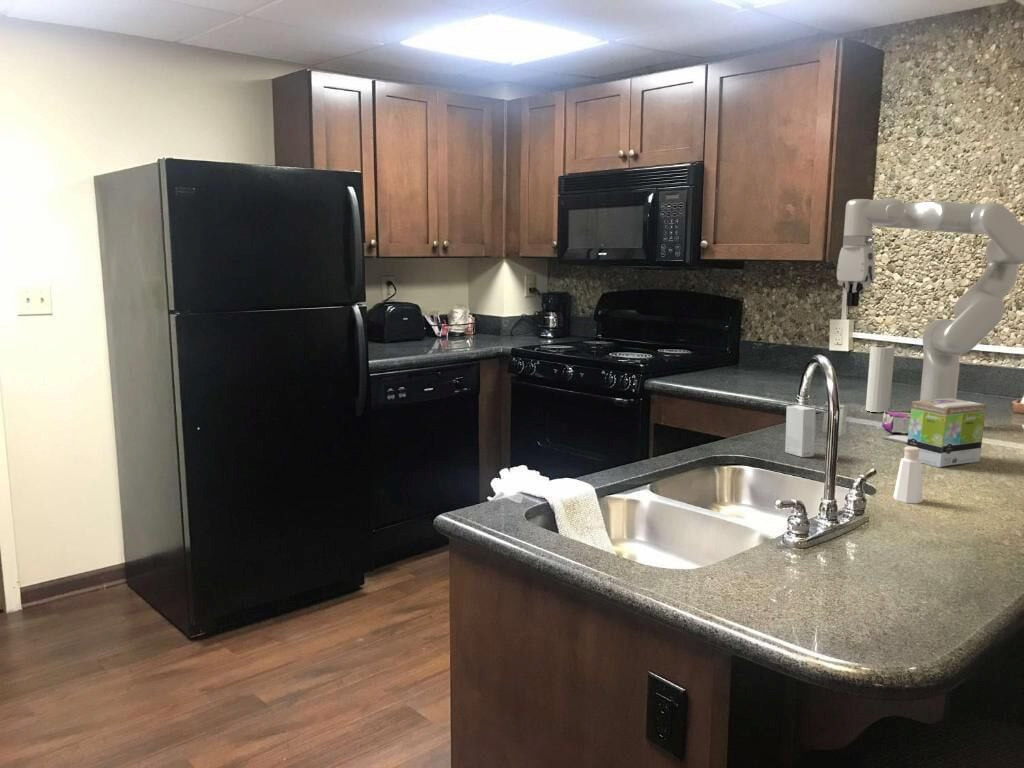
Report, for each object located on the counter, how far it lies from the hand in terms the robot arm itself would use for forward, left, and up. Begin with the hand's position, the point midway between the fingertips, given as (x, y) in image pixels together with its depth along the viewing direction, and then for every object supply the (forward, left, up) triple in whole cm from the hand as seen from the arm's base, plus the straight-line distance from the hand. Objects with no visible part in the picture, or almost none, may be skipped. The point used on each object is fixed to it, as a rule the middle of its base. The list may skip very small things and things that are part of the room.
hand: (852, 305), depth 241 cm
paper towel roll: (-25, -7, -35) cm, 44 cm away
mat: (+2, +28, -35) cm, 45 cm away
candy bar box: (0, +15, -32) cm, 35 cm away
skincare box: (+44, +22, -35) cm, 61 cm away
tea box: (+17, +43, -35) cm, 58 cm away
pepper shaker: (+55, +60, -35) cm, 89 cm away
